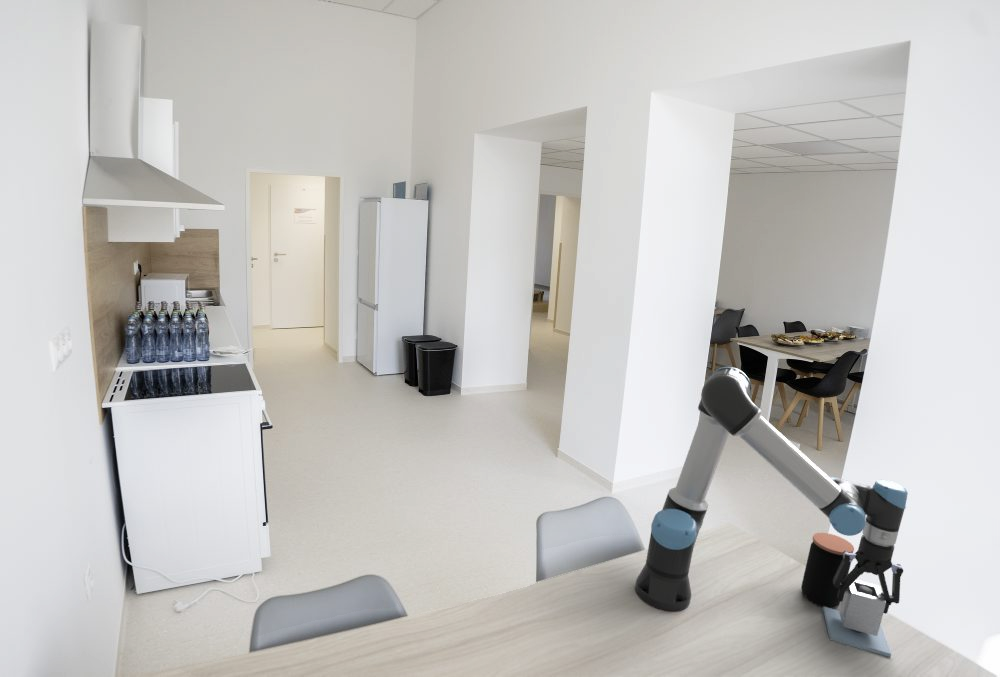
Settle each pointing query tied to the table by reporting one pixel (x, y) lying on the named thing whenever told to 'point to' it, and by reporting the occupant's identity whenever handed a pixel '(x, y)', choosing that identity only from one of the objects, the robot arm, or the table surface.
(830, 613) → the blue base with peg
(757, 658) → the table surface
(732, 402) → the robot arm
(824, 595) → the coffee jar
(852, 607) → the square metal tube
